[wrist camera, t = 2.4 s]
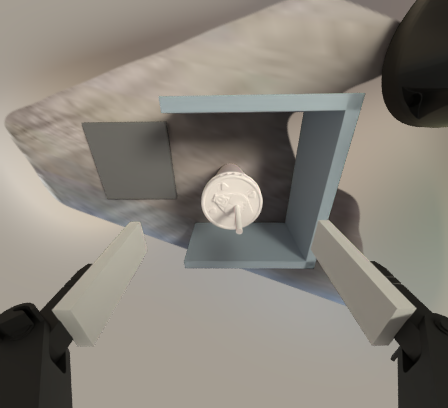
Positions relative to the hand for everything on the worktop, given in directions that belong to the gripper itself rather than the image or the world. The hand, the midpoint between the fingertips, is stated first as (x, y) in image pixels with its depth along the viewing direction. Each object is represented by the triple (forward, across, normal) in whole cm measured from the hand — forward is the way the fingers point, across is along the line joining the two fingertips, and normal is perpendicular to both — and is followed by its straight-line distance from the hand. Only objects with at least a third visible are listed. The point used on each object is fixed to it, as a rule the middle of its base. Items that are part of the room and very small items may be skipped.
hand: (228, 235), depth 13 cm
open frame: (+15, +3, 0) cm, 15 cm away
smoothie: (+15, 0, 0) cm, 15 cm away
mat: (+15, -14, +2) cm, 20 cm away
